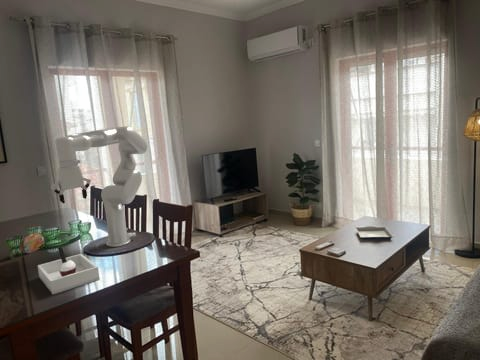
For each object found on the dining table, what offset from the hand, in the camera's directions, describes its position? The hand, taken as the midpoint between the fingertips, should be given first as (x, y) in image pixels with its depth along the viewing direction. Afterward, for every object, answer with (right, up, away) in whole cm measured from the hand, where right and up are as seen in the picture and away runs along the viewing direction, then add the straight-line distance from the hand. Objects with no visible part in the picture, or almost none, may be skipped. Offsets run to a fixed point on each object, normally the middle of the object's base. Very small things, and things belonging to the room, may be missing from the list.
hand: (74, 200), depth 166 cm
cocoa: (+4, -31, -14) cm, 35 cm away
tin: (-32, -28, +24) cm, 49 cm away
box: (+5, -32, -14) cm, 36 cm away
